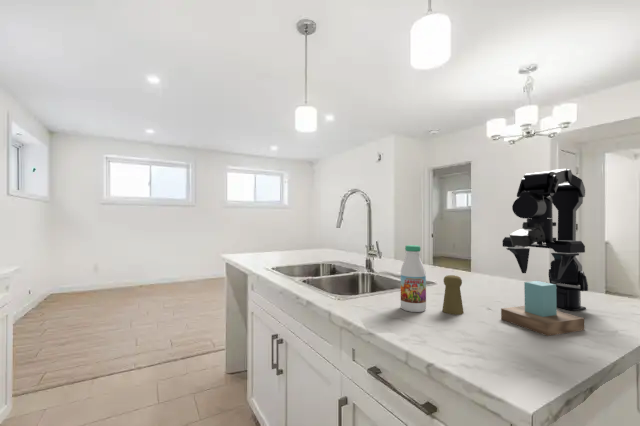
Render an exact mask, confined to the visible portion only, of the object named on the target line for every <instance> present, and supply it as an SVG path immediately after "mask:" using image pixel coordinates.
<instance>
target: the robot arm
mask: <svg viewBox="0 0 640 426" xmlns="http://www.w3.org/2000/svg"><path fill="white" fill-rule="evenodd" d="M516 197H517V198H516V199H515V201H513V203H512V205H511V206H512V212H513V214H514V215H515V216H516V217H518V218H520V219H526V221H523V222H522V228H520V229H517V230H515V231H513V232H511V233H509V236H504V238H503V239H502V247H504V248H506V250H507V251H510V252H511V253H512V254H513V255H514V257H515V259H516V261H517V263H518V266H519V269H520V271H521V274H527V271H528V265H529V257H530V249H531V248H540V249H552V250H553V251H554V252H551V253H550V254H551V255H552V258H553V259H554V260H551V262H550V267H549V269H548V280H549V283H550V284H555V285H556V304H557V308H561V309H564V310H568V311H574V312H575V311H581V310H587V307H586V306H582V303H581V301H582V297H581V292H589V283H588V279H587V276H586V275H585V272H584V271H583V265H582V263H581V262H580V261H579V259H578V258H577V257H576V256H580V254H581V253H586V245H585V244H584V242H582V240H576V239H577V238H576V237H577V233H576V232H577V211H578V210H579V208H580V207H581V206H582V204H583V202H584V198H585V197H586V188H585V184H584V182H583V179H581V178H580V177H578V176H577V175H575V174H573V172H572V170H571V169H570V168H569V169H568V168H560V169H552V170H549V171H541V172H534V173H533V172H530V173H525V174H524V175H523V177H522V178H521V179H520V183H519V186H518V189H517V193H516ZM553 206H554V207H555V208H556V210H557V222H555V221H553ZM553 227H557V237H554V233H553V232H554V231H553V229H554V228H553ZM530 247H531V248H530Z"/></svg>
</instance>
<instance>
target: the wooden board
mask: <svg viewBox="0 0 640 426" xmlns="http://www.w3.org/2000/svg"><path fill="white" fill-rule="evenodd" d="M500 315H501V316H500V318H501V319H500V320H503V321H505V322H508V323H511V324H513V325H515V326H516V325H517V326H519V327H522V328H524V329H527V330H530V331H532V332H535V333H538V334H541V335H544V336H546V337H549V336H555V335H562V334H568V333H574V332H581V331H585V328H586V327H585V317H581V316H577V315H574V314H570V313H567V312H562V311H560V310H557V315H553V316H546V317H542V316H538V315H535V314H532V313H529V312H525V305H520V306H512V307H504V308H500Z"/></svg>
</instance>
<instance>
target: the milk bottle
mask: <svg viewBox="0 0 640 426" xmlns="http://www.w3.org/2000/svg"><path fill="white" fill-rule="evenodd" d="M421 248H422V247H421V246H420V245H415V244H410V245H405V248H404V249H405V253H406V254H405V259H404V261H403V263H402V265H401V269H400V308H401V309H402V310H404V311H405V312H410V313H422V312H425V311H426V310H427V279H426V278H427V275H426V268H425V266H424V264H423V262H422V259H421V250H422V249H421Z"/></svg>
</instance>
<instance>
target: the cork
mask: <svg viewBox="0 0 640 426" xmlns="http://www.w3.org/2000/svg"><path fill="white" fill-rule="evenodd" d="M443 284H444V286H445V288H444V295H443V304H442V312H443V313H445V314H448V315H455V316H456V315H458V316H459V315H463V314H464V305H463V299H462V292H461V286H462V284H463V280H462V278H461V277H460V276H458V275H456V274H455V275H453V274H450V275H446V276H444V277H443Z"/></svg>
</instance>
